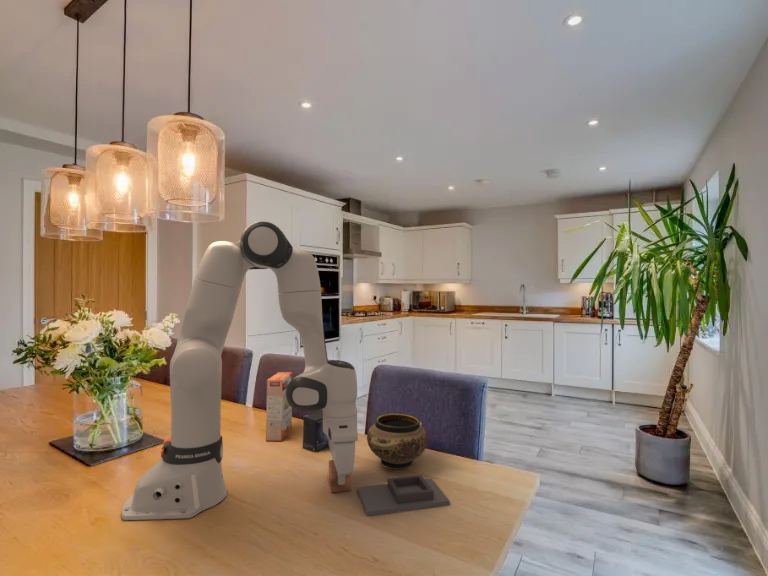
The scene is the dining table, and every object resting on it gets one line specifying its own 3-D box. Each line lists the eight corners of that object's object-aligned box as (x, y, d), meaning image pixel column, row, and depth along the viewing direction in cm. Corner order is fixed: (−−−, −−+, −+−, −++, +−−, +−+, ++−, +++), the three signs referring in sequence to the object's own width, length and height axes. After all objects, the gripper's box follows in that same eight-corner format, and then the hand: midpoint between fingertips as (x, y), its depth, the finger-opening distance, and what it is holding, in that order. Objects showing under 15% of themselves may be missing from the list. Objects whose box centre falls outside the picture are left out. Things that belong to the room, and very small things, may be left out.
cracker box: (283, 441, 138) (283, 379, 138) (265, 441, 138) (265, 379, 138) (293, 428, 152) (293, 371, 152) (277, 427, 152) (277, 371, 152)
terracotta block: (330, 492, 103) (331, 468, 103) (328, 483, 108) (328, 460, 108) (350, 490, 104) (350, 466, 104) (347, 481, 109) (347, 458, 109)
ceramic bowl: (393, 495, 107) (405, 443, 105) (342, 463, 117) (353, 414, 115) (435, 463, 127) (446, 418, 126) (389, 438, 137) (399, 396, 135)
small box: (315, 453, 128) (316, 419, 128) (301, 448, 132) (301, 415, 132) (339, 443, 137) (339, 411, 137) (325, 439, 141) (325, 408, 141)
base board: (367, 516, 92) (367, 502, 92) (357, 490, 104) (357, 479, 104) (449, 504, 97) (449, 492, 97) (431, 482, 109) (431, 470, 109)
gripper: (323, 413, 115) (323, 462, 115) (332, 438, 95) (331, 498, 95) (345, 411, 117) (345, 460, 117) (359, 436, 97) (358, 495, 97)
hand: (339, 477), depth 106 cm, fingers closed on terracotta block, 5 cm apart
